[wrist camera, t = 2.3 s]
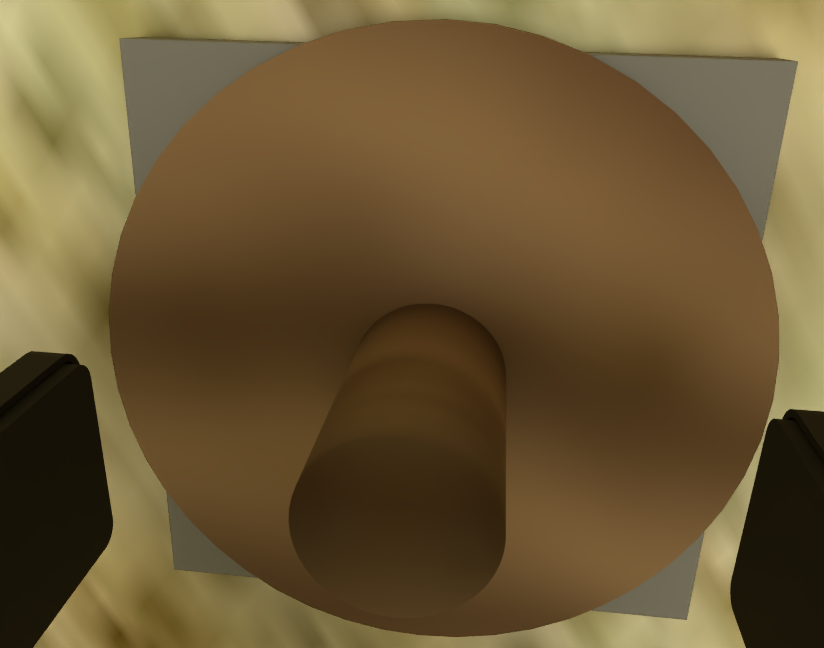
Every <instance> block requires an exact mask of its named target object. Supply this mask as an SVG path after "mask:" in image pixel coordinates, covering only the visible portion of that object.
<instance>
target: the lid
mask: <svg viewBox="0 0 824 648" xmlns="http://www.w3.org/2000/svg"><path fill="white" fill-rule="evenodd" d="M109 324H110V341H111V354H112V359H113V365H114V370H115V375H116V380H117V385H118V390H119V393H120V396H121V399H122V402H123V405H124V408H125V411H126V414H127V417H128V421H129V424H130V426H131V428H132V431H133V433H134V435H135V437H136V439H137V441H138V443H139V445H140V447H141V449H142V452H143V454H144V456H145V458H146V460H147V462H148V463H149V465H150V466H151V468H152V469H153V471H154V473H155V474H156V476H157V477H158V479H159V481H160V482H161V484H162V485H163V487H164V488H165V490H166V492H167V493H168V494H169V495H170V497H171V498H172V499H173V500H174V502H175V503H176V504H177V505H178V506H179V508H180V509H181V510H182V511H183V513H184V514H185V515H186V516H187V518H188V519H189V520H190V521H191V522H192V523H193V524H194V525H195V526H196V527H197V528H198V529H199V530H200V531H201V532H202V533H203V534H204V535H205V536H206V537H207V538H208V539H209V540H210V541H211V542H212V543H213V544H214V545H215V546H216V547H217V548H219V549H220V550H221V551H222V552H224V553H225V554H226V555H227V556H229V557H230V558H231V559H232V560H234V561H235V562H236V563H237V564H239V565H240V566H241V567H242V568H244V569H245V570H246V571H248V572H250V573H251V574H253V575H254V576H256V577H257V578H259V579H261V580H262V581H264V582H265V583H267V584H268V585H270V586H272V587H273V588H275V589H276V590H278V591H280V592H282V593H284V594H286V595H288V596H290V597H292V598H294V599H296V600H298V601H300V602H302V603H304V604H306V605H308V606H310V607H313V608H316V609H318V610H321V611H324V612H326V613H329V614H332V615H334V616H337V617H340V618H342V619H345V620H349V621H352V622H356V623H360V624H364V625H368V626H371V627H375V628H379V629H384V630H390V631H397V632H403V633H409V634H416V635H429V636H448V637H465V636H484V635H497V634H503V633H510V632H516V631H522V630H529V629H534V628H537V627H541V626H545V625H548V624H552V623H556V622H559V621H563V620H567V619H570V618H572V617H575V616H577V615H580V614H582V613H585V612H587V611H590V610H592V609H595V608H598V607H600V606H603V605H605V604H607V603H608V602H610V601H612V600H614V599H616V598H618V597H620V596H621V595H623V594H625V593H627V592H629V591H631V590H633V589H635V588H636V587H638V586H639V585H641V584H642V583H644V582H645V581H647V580H648V579H649V578H651V577H652V576H654V575H655V574H657V573H658V572H660V571H661V570H662V569H664V568H665V567H667V566H668V565H669V564H670V563H672V562H673V561H674V560H675V559H676V558H677V557H678V556H679V555H680V554H682V553H683V552H684V551H685V550H686V549H687V548H688V547H689V546H690V545H691V544H693V543H694V542H695V541H696V540H697V539H698V538H699V537H700V536H701V534H702V533H703V532H704V531H705V530H706V529H707V527H708V526H709V525H710V524H711V523H712V522H713V520H714V519H715V518H716V517H717V516H718V515H719V513H720V512H721V511H722V510H723V508H724V507H725V505H726V504H727V502H728V501H729V499H730V498H731V496H732V494H733V493H734V491H735V490H736V488H737V487H738V485H739V484H740V482H741V481H742V479H743V477H744V476H745V474H746V471H747V469H748V467H749V465H750V463H751V461H752V459H753V456H754V454H755V452H756V450H757V448H758V446H759V443H760V441H761V439H762V436H763V432H764V429H765V426H766V422H767V419H768V416H769V412H770V409H771V406H772V402H773V397H774V390H775V383H776V376H777V369H778V362H779V315H778V309H777V302H776V296H775V290H774V283H773V277H772V272H771V269H770V266H769V263H768V259H767V256H766V253H765V250H764V247H763V244H762V241H761V237H760V234H759V231H758V229H757V227H756V225H755V223H754V221H753V219H752V217H751V215H750V213H749V211H748V208H747V206H746V204H745V202H744V200H743V198H742V196H741V194H740V192H739V190H738V188H737V187H736V185H735V184H734V183H733V181H732V180H731V178H730V177H729V175H728V174H727V172H726V171H725V170H724V168H723V167H722V165H721V164H720V162H719V161H718V160H717V158H716V157H715V155H714V154H713V152H712V151H711V150H710V148H709V147H708V146H707V145H706V144H705V143H704V142H703V141H702V140H701V139H700V138H699V137H698V136H697V135H696V133H695V132H694V131H693V130H692V129H691V128H690V127H689V126H688V125H687V124H686V123H685V122H684V121H683V120H682V119H681V118H680V117H679V115H678V114H677V113H675V112H674V111H673V110H672V109H670V108H669V107H668V106H667V105H665V104H664V103H663V102H662V101H660V100H659V99H658V98H656V97H655V96H654V95H653V94H651V93H650V92H649V91H648V90H646V89H645V88H644V87H643V86H641V85H640V84H639V83H637V82H636V81H634V80H633V79H631V78H629V77H627V76H626V75H624V74H622V73H620V72H619V71H617V70H615V69H614V68H612V67H610V66H608V65H607V64H605V63H603V62H601V61H600V60H598V59H596V58H595V57H593V56H591V55H589V54H586V53H584V52H581V51H579V50H576V49H574V48H571V47H569V46H567V45H564V44H562V43H559V42H557V41H554V40H552V39H549V38H547V37H544V36H541V35H537V34H533V33H529V32H525V31H521V30H517V29H513V28H509V27H505V26H501V25H496V24H489V23H479V22H469V21H459V20H449V19H440V20H414V21H392V22H387V23H381V24H376V25H370V26H365V27H359V28H354V29H348V30H343V31H340V32H337V33H334V34H331V35H328V36H325V37H322V38H319V39H316V40H313V41H310V42H307V43H304V44H301V45H298V46H296V47H294V48H292V49H290V50H288V51H286V52H284V53H282V54H280V55H278V56H276V57H274V58H272V59H270V60H268V61H266V62H264V63H262V64H260V65H258V66H256V67H254V68H253V69H251V70H250V71H248V72H247V73H245V74H244V75H243V76H241V77H240V78H238V79H237V80H236V81H234V82H233V83H231V84H230V85H228V86H227V87H226V88H224V89H223V90H221V91H220V92H219V93H217V94H216V95H215V96H214V97H213V98H212V99H211V100H209V101H208V102H207V103H206V104H205V105H204V106H203V107H202V108H201V109H200V110H199V111H198V112H197V113H196V114H195V115H194V116H193V117H192V118H191V119H190V120H188V121H187V122H186V123H185V124H184V125H183V126H182V128H181V129H180V130H179V132H178V133H177V134H176V135H175V137H174V138H173V139H172V141H171V142H170V143H169V144H168V146H167V147H166V148H165V150H164V151H163V152H162V153H161V155H160V156H159V157H158V159H157V160H156V162H155V163H154V165H153V167H152V169H151V171H150V172H149V174H148V176H147V178H146V179H145V181H144V183H143V185H142V186H141V188H140V190H139V192H138V194H137V195H136V197H135V200H134V203H133V205H132V208H131V210H130V213H129V216H128V218H127V221H126V223H125V226H124V228H123V231H122V234H121V237H120V242H119V246H118V250H117V255H116V259H115V264H114V268H113V273H112V282H111V294H110V306H109Z"/></svg>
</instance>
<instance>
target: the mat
mask: <svg viewBox="0 0 824 648" xmlns="http://www.w3.org/2000/svg"><path fill="white" fill-rule="evenodd" d="M301 44H304V43H303V42H273V41H243V40H213V39H183V38H154V37H137V38H120V49H121V59H122V68H123V78H124V88H125V97H126V107H127V116H128V126H129V136H130V145H131V155H132V164H133V174H134V184H135V193H136V195H137V194H138V192H139V190H140V188H141V186H142V185H143V183H144V181H145V179H146V178H147V176H148V174H149V172H150V171H151V169H152V167H153V165H154V163H155V162H156V160H157V159H158V157H159V156H160V155H161V153H162V152H163V151H164V150H165V148H166V147H167V146H168V144H169V143H170V142H171V141H172V139H173V138H174V137H175V135H176V134H177V133H178V132H179V130H180V129H181V128H182V126H183V125H184V124H185V123H186V122H187V121H188V120H190V119H191V118H192V117H193V116H194V115H195V114H196V113H197V112H198V111H199V110H200V109H201V108H202V107H203V106H204V105H205V104H206V103H207V102H208V101H209V100H211V99H212V98H213V97H214V96H215V95H216V94H217V93H219V92H220V91H221V90H223V89H224V88H226V87H227V86H228V85H230V84H231V83H233V82H234V81H236V80H237V79H238V78H240V77H241V76H243V75H244V74H245V73H247V72H248V71H250V70H251V69H253V68H254V67H256V66H258V65H260V64H262V63H264V62H266V61H268V60H270V59H272V58H274V57H276V56H278V55H280V54H282V53H284V52H286V51H288V50H290V49H292V48H294V47H296V46H298V45H301ZM584 53H586V54H589V55H591V56H593V57H595V58H596V59H598V60H600V61H601V62H603V63H605V64H607V65H608V66H610V67H612V68H614V69H615V70H617V71H619V72H620V73H622V74H624V75H626V76H627V77H629V78H631V79H633V80H634V81H636V82H637V83H639V84H640V85H641V86H643V87H644V88H645V89H646V90H648V91H649V92H650V93H651V94H653V95H654V96H655V97H656V98H658V99H659V100H660V101H662V102H663V103H664V104H665V105H667V106H668V107H669V108H670V109H672V110H673V111H674V112H675V113H677V114H678V115H679V117H680V118H681V119H682V120H683V121H684V122H685V123H686V124H687V125H688V126H689V127H690V128H691V129H692V130H693V131H694V132H695V133H696V135H697V136H698V137H699V138H700V139H701V140H702V141H703V142H704V143H705V144H706V145H707V146H708V147H709V148H710V150H711V151H712V152H713V154H714V155H715V157H716V158H717V160H718V161H719V162H720V164H721V165H722V167H723V168H724V170H725V171H726V172H727V174H728V175H729V177H730V178H731V180H732V181H733V183H734V184H735V185H736V187H737V188H738V190H739V192H740V194H741V196H742V198H743V200H744V202H745V204H746V206H747V208H748V211H749V213H750V215H751V217H752V219H753V221H754V223H755V225H756V227H757V229H758V231H759V234H760V237H761V241H762V239H763V234H764V229H765V224H766V219H767V214H768V209H769V204H770V199H771V194H772V189H773V184H774V179H775V174H776V169H777V164H778V159H779V154H780V149H781V144H782V139H783V134H784V129H785V124H786V119H787V114H788V109H789V103H790V98H791V93H792V88H793V83H794V78H795V73H796V68H797V63H798V61H791V60H785V59H779V58H749V57H719V56H690V55H660V54H630V53H600V52H584ZM167 501H168V511H169V520H170V530H171V540H172V549H173V559H174V569H175V570H185V571H195V572H206V573H216V574H226V575H236V576H246V577H256V576H254V575H253V574H251V573H250V572H248V571H246V570H245V569H244V568H242V567H241V566H240V565H239V564H237V563H236V562H235V561H234V560H232V559H231V558H230V557H229V556H227V555H226V554H225V553H224V552H222V551H221V550H220V549H219V548H217V547H216V546H215V545H214V544H213V543H212V542H211V541H210V540H209V539H208V538H207V537H206V536H205V535H204V534H203V533H202V532H201V531H200V530H199V529H198V528H197V527H196V526H195V525H194V524H193V523H192V522H191V521H190V520H189V519H188V518H187V516H186V515H185V514H184V513H183V511H182V510H181V509H180V508H179V506H178V505H177V504H176V503H175V502H174V500H173V499H172V498H171V497H170V495H169V494H168V493H167ZM703 536H704V532H703V533H702V534H701V536H700V537H699V538H698V539H697V540H696V541H695V542H694V543H693V544H691V545H690V546H689V547H688V548H687V549H686V550H685V551H684V552H683V553H682V554H680V555H679V556H678V557H677V558H676V559H675V560H674V561H673V562H672V563H670V564H669V565H668V566H667V567H665V568H664V569H662V570H661V571H660V572H658V573H657V574H655V575H654V576H652V577H651V578H649V579H648V580H647V581H645V582H644V583H642V584H641V585H639V586H638V587H636V588H635V589H633V590H631V591H629V592H627V593H625V594H623V595H621V596H620V597H618V598H616V599H614V600H612V601H610V602H608V603H607V604H605V605H603V606H600V607H598V608H595V609H592V611H602V612H612V613H622V614H633V615H643V616H653V617H663V618H673V619H683V620H687V616H688V611H689V606H690V601H691V596H692V591H693V586H694V581H695V576H696V571H697V566H698V561H699V556H700V551H701V546H702V541H703ZM256 578H257V577H256Z"/></svg>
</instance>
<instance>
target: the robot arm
mask: <svg viewBox="0 0 824 648" xmlns="http://www.w3.org/2000/svg"><path fill="white" fill-rule="evenodd" d="M112 529H113V517H112V511H111V504H110V498H109V491H108V485H107V478H106V472H105V465H104V459H103V452H102V446H101V439H100V433H99V427H98V420H97V414H96V407H95V401H94V394H93V388H92V381H91V376H90V372H89V370H88V368H87V367H86V366H84V365H80V364H79V362H78V360H77V358H76V357H75V356H73V355H72V354H60V353H47V352H34V351H31V352H29V353H27V354H25V355H24V356H22V357H21V358H20V359H18V360H17V361H16V362H14V363H13V364H12V365H10V366H9V367H8V368H6V369H5V370H4V371H2V372H1V373H0V648H33V647H34V645H35V644H36V643H37V641H38V640H39V639H40V637H41V636H42V634H43V633H44V632H45V630H46V629H47V628H48V626H49V625H50V624H51V622H52V621H53V619H54V618H55V617H56V615H57V614H58V613H59V611H60V610H61V608H62V607H63V606H64V604H65V603H66V602H67V600H68V599H69V597H70V596H71V595H72V593H73V592H74V591H75V589H76V588H77V587H78V585H79V584H80V582H81V581H82V580H83V578H84V577H85V576H86V574H87V573H88V571H89V570H90V569H91V567H92V566H93V565H94V563H95V562H96V561H97V559H98V558H99V556H100V555H101V554H102V552H103V551H104V550H105V548H106V547H107V545H108V543H109V541H110V538H111V534H112ZM730 595H731V605H732V609H733V612H734V615H735V618H736V621H737V624H738V626H739V629H740V632H741V635H742V638H743V641H744V643H745V646H746V648H824V412H820V411H807V410H794V409H790V410H788V411H787V412H786V413H785V415H784V416H783V419H772V420H771V421H770V423H769V425H768V427H767V431H766V435H765V439H764V443H763V448H762V452H761V456H760V460H759V465H758V469H757V473H756V477H755V482H754V486H753V490H752V494H751V499H750V503H749V507H748V511H747V516H746V520H745V524H744V529H743V533H742V537H741V541H740V546H739V550H738V554H737V558H736V563H735V567H734V571H733V575H732V580H731V589H730Z"/></svg>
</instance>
